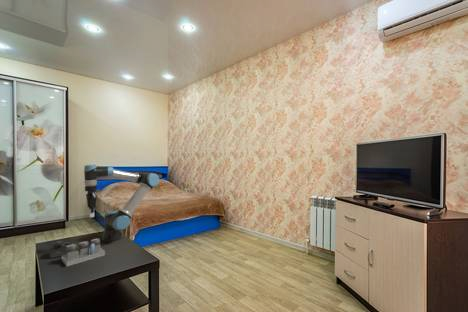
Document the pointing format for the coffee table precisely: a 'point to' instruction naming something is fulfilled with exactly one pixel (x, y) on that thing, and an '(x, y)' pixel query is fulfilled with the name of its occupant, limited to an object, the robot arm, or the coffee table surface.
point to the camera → (59, 249)
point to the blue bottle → (92, 248)
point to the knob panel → (82, 255)
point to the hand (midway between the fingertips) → (91, 216)
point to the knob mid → (84, 244)
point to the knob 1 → (71, 247)
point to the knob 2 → (95, 241)
